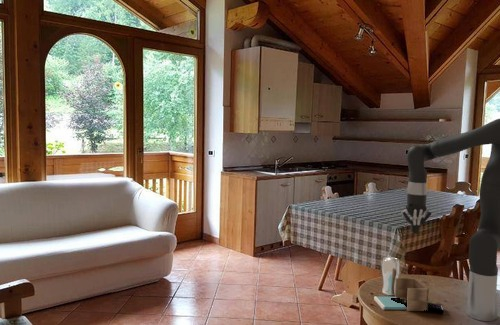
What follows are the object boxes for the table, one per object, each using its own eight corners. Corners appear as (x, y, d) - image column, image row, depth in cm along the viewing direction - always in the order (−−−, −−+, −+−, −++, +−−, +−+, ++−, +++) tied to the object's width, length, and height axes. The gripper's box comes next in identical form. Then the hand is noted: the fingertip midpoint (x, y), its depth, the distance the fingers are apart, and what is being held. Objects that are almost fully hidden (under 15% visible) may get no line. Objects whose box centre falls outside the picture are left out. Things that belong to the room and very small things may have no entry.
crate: (413, 299, 173) (414, 278, 172) (427, 311, 161) (428, 289, 160) (394, 299, 172) (395, 278, 171) (407, 311, 160) (408, 289, 160)
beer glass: (395, 297, 174) (396, 262, 172) (378, 293, 178) (380, 259, 177) (400, 292, 179) (401, 259, 178) (384, 288, 183) (385, 255, 182)
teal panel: (395, 296, 171) (374, 296, 171) (406, 306, 161) (383, 306, 161) (395, 299, 171) (373, 299, 171) (406, 309, 161) (383, 309, 161)
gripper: (405, 194, 169) (403, 235, 170) (436, 194, 170) (434, 235, 171) (397, 191, 177) (395, 231, 178) (427, 191, 177) (425, 231, 179)
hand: (414, 233), depth 175 cm, fingers closed
